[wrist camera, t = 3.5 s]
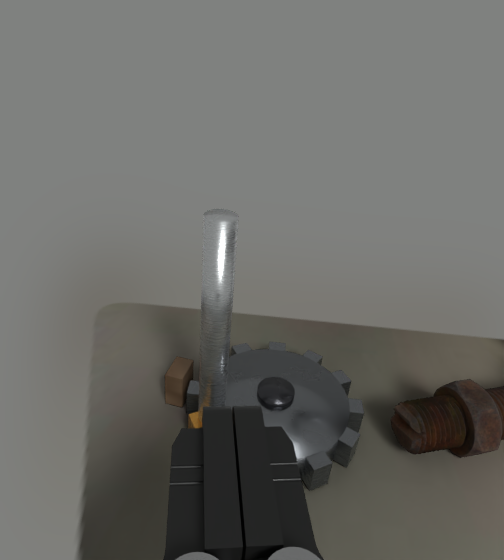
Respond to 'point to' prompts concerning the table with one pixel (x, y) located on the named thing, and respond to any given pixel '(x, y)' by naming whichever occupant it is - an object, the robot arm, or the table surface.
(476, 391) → the bolt
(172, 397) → the brown block
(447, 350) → the table surface
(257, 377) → the sprocket
